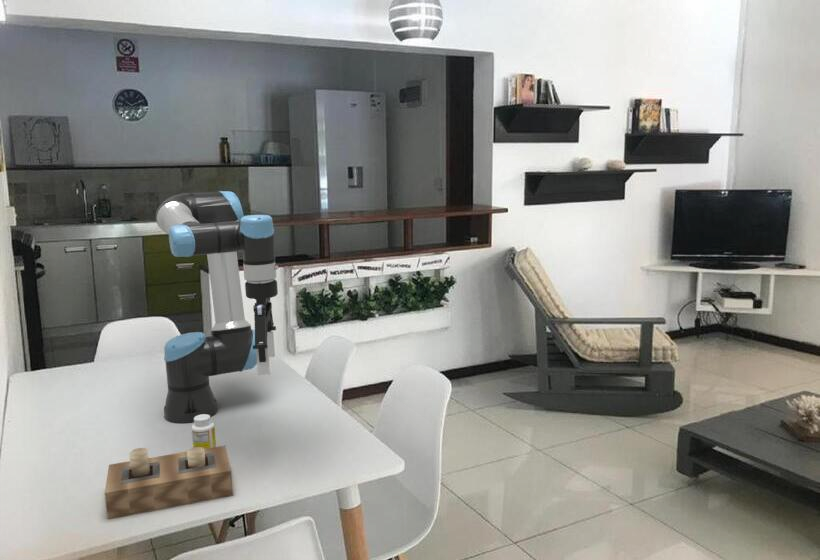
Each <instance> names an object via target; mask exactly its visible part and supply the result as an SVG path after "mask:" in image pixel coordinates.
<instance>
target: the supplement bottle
mask: <svg viewBox="0 0 820 560" xmlns="http://www.w3.org/2000/svg"><path fill="white" fill-rule="evenodd" d="M215 430H216V429H215V424H214V422H213V421H212V419H211V417H210V415H207V414H201V415H197V416H195V417H194V422H193V424H192V426H191V435H192V437H191V438H192V446H193V447H192V448H195V447H202V448H204V449H207V448H213V447H217V440H216V431H215Z"/></svg>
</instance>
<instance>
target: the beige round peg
mask: <svg viewBox="0 0 820 560" xmlns="http://www.w3.org/2000/svg"><path fill="white" fill-rule="evenodd" d="M128 454H129V455H128V456H129V461H130V463H131V472H132V479H134V478H139V477H145V476H150V467H149V458H150V457H149V450H148V448H146V447H139V448H134V449H132V450H131V451H130V452H129V453H128Z"/></svg>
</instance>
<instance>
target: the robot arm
mask: <svg viewBox="0 0 820 560" xmlns="http://www.w3.org/2000/svg"><path fill="white" fill-rule="evenodd" d="M155 221H156V224H157V226H158V228H159V229H160V230H161V231H162V232H163V233H165V234H166V235H168V241H169V242H168V243H169V248H170V252H171V254H172V255H173V256H174V257H177V258H180V257H182V258H183V257H184V258H190V257H193V256H194V257H195V256H204V255H205V256H207V264H208V265H207V266H208V274H209V281H210V290H211V297H212V298H211V299H212V305H213V314H214V321H215V324H214V325H213V327H212V328H210V333H211V335H210V336H207V335H206V334H205V333H204V332H201V331H195V332H194V331H193V332H187V333H183V334H178V335H177V336H174V337H172V338H171V339H168V341H167V342H166V343H165V344H164V347H163V348H164V352H163V353H164V357H163V360H164V363H165V372H166V381H167V382H166V383H167V394H166V397H165V398H166V399H165V405H164V406H163V407H164V408H163V415H164V416H163V417H164V419H165V420H166V421H168V422H172V423H175V424H176V423H177V424H185V423H194V417H195V416H197V415H201V414H207V415H210V418H211V417H213V416H214V415H216V414H217V412H218V410H219V408H218V402H217V399H216V398H215V395H214V393H213V390H212V388H211V384H210V377H213V376H219V375H225V374H230V373H236V372H238V373H239V372H240V373H241V372H244V371H246V370H251V369H254V368H255V367H256V366H257V375H258V376H262V375H264V376H265V375H271V369H270V358H275V356H276V354H275V353H276V352H275V339H274V337H275V336H274V335H275V334H274V331H276V330H277V327H276V325H274V320H273V309H272V307H273V305H272V302H271V299H272V298H275V297H277V295H278V293H279V290H278V281H277V280H276V278H277V270H279V268H280V267H279V265H276V247H275V228H274V222H273V218H272V216H271V215H268V214H250V215H244V211H243V208H242V204H241V202H240V199H239V197H238V196H237V195H236V193H235V192H232V191H229V190H227V191H225V190H224V191H223V190H217V191H203V192H185V193H184V192H183V193H177V194H175V195H172V196H170V197H168V198H166V199H165V200H163V202H161V203H160V205H159V206H158V207H157V209H156V212H155ZM237 252H242V259H243V261H242V262H243V263H242V264H243V265H242V266H243V279H244V280H245V281H246V282H245V283H244V288H245V289H244V290H245V297H246V298H248V299H250V300H252V299H254V300H255V302H254V305H253V312H254V317H253V318H254V319H253V320H254V329H252V326H251V323H249V322H248V320H246V317H245V311H244V309H245V308H244V301H243V293H242V286H241V278H240V270H239V269H240V268H239V261H238V260H239V259H238V253H237Z"/></svg>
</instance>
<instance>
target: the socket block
mask: <svg viewBox="0 0 820 560" xmlns="http://www.w3.org/2000/svg"><path fill="white" fill-rule="evenodd" d="M204 452H205V463H206V466H203V467H197V468H191V469H188V458H187V451H184V452H179V453H171V454H166V455H159V456H154V457H153V456H152V457H148V458H149V467H150V476H145V477H139V478H134V479H132V472H131V463H130V460H129V461H123V462H116V463H111V464H108V467H107V468H108V470H107V476H106V481H105V490H104V499H105V508H106V517H107V520H111V519H115V518H121V517H125V516H131V515H136V514H137V515H138V514H141V513H142V514H143V513H147V512H152V511H158V510H163V509H168V508H174V507H179V506H184V505H188V504H189V505H190V504H194V503H195V504H196V503H199V502H200V503H201V502H206V501H210V500H215V499H216V500H217V499H220V498H226V497H230V496H231V497H232V496H234V491H233V479H232V469H231V463H230V461H229V456H228V451H227V447H226V445H219V446H216V447H213V448H207V449H204Z"/></svg>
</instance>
